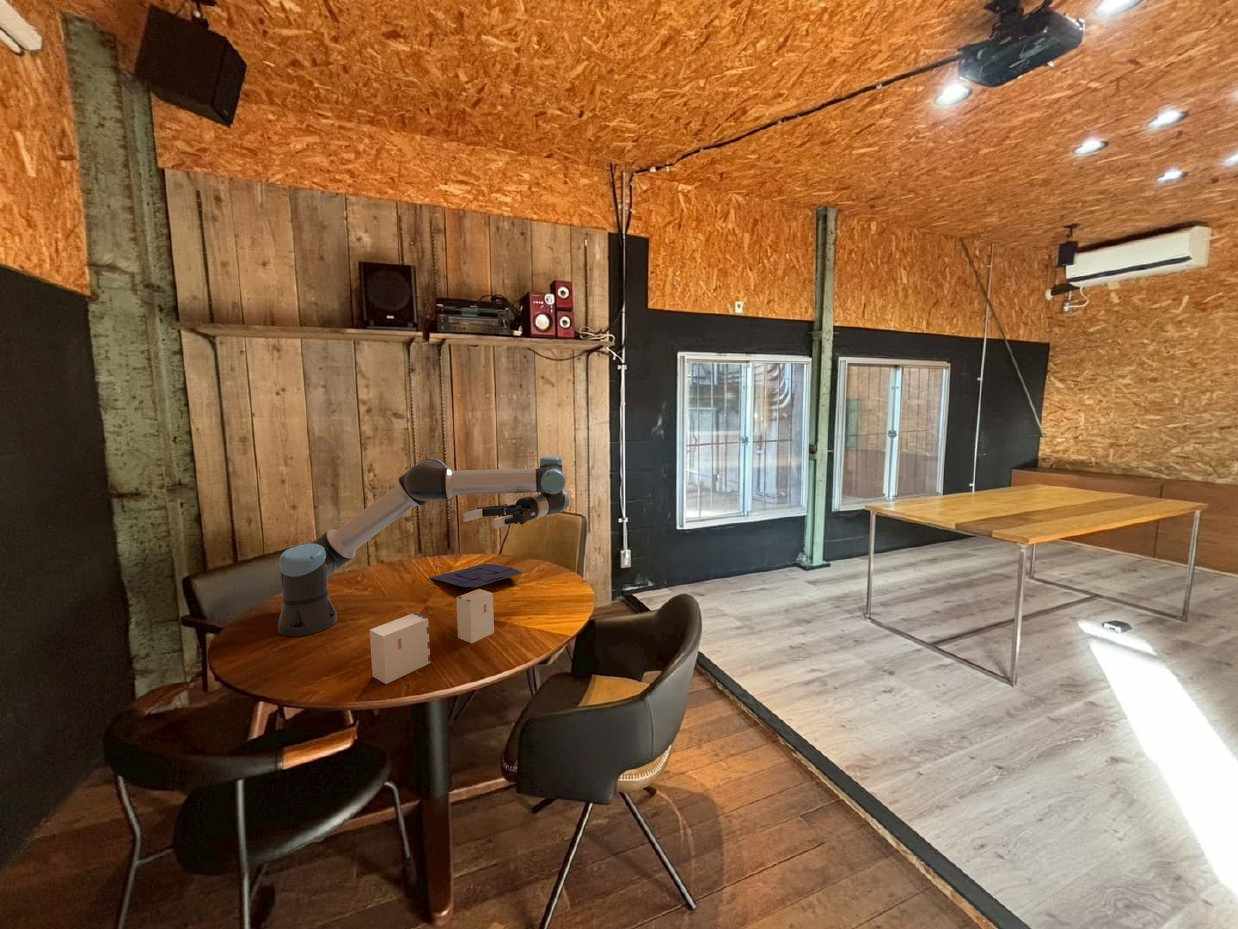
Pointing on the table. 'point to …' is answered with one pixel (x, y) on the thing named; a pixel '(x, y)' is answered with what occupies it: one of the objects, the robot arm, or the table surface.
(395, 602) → the table surface
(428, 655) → the white slotted block
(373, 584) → the table surface
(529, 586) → the table surface
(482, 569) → the navy flat slab
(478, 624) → the stub
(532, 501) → the robot arm
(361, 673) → the table surface
